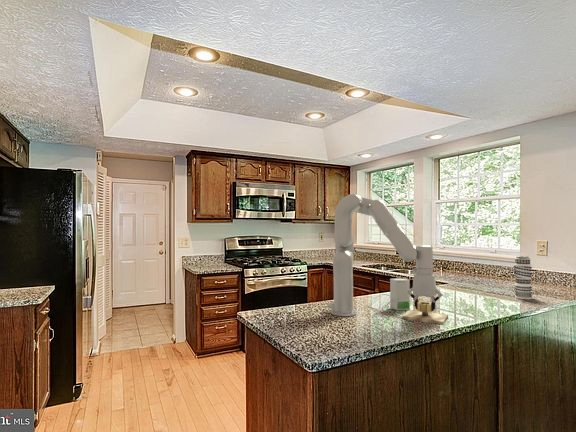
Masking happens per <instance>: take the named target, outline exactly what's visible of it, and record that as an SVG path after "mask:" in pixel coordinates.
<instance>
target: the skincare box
mask: <svg viewBox="0 0 576 432" xmlns="http://www.w3.org/2000/svg"><path fill="white" fill-rule="evenodd" d="M410 281H411V280H410V279H408V278H390V279H389V282H390V284H389V286H390V288H389V293H390V295H389V296H390V297H389V298H390V300H389V301H390V303H389V306H390V309H393V310H395V311H409V310H411V303H410V302H411V296H410V295H409V294H408V291H409V290H410V289H411V288H410V285H411V284H410Z"/></svg>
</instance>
